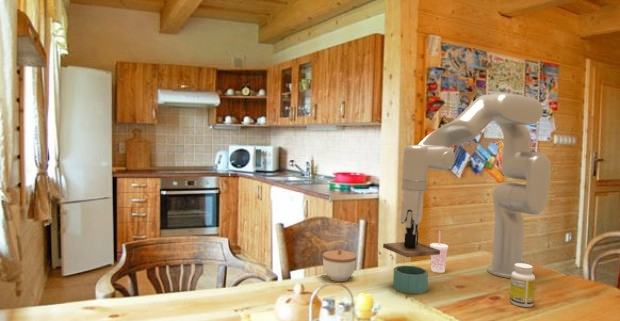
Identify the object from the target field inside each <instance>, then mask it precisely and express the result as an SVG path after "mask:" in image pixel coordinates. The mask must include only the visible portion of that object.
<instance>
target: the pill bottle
mask: <svg viewBox="0 0 620 321" xmlns="http://www.w3.org/2000/svg"><path fill="white" fill-rule="evenodd" d="M533 268H534V267H533V265H529V264H524V263H516V264H515V265H514V269H515V271H513V272H512V274H511V278H510V289H509V290H510V292H509V301H510V303H511V304H512V305H514V306H518V307H523V308H530V307H531V308H532V307H533V306H534V305H535V289H536V288H535V287H536V285H535V284H536V276H535V274H533V271H534V270H533Z"/></svg>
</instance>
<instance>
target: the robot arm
mask: <svg viewBox="0 0 620 321" xmlns="http://www.w3.org/2000/svg"><path fill="white" fill-rule="evenodd" d="M543 113H544V108H543V105H542V103H541V102H540V101H539V100H538V99H537V98H534V97H529V96H524V95H520V94H519V95H518V94H513V93H504V92H502V93H492V94H491V93H490V94H483V95H480V96H478V97H477V98H476V99H474V100H473V101H472V102H471V103H470V104H469V106H467V107H466V108H465V109H464V110H463V111H462V112H461V113H460V114H459V115H458V116H457V117H456V118H455V119H454V120H452V121H450V122H448V123H446V124H444V125H442V126H440V127H439V128H437V129H434V131H431V132H430V133H428V134H427V135H426V136H425V137H424V138H423V139H422V140H421V141H420V142H418V143H417V144H416V145H415V144H414V145H413V144H411V145H410V144H409V145H406V146H405V147H404V149H403V158H402V160H403V161H402V175H401V177H402V179H401V191H403V194H402V195H403V196H402V201H401V202H402V203H401V210H400V223H401V224H403V225H404V224H405V230H404V246H405V247H408V248H415V243H416V235H415V232H416V233H417V245H418V243H419V223H421V221H422V218H423V209H424V208H423V207H424V193H427V192H428V181H429V170H434V171H447V170H449V169H450V168H452V167H453V165H454V164H455V162H456V153H455V152H454V151H453V149H451V148H450V147H453V146H456V145H461V144H465V143H467V142H469V141H473V140H475V138H476V137H477V136H478V135H479V134H480V133H481V132H482V131H483V130H484V129H486V127H487V126H488V125H489V124H491V122H493V121H494V122H496V124H497V125H498V126H499V128H500V130H501V131H502V135H503V146H502V154H501V162H500V163H501V164H500V170H501V174H502V175H503V176H504V177H506V178H507V179H513V180H521V181H526V184H525V183H519V182H518V183H517V182H511V181H510V182H507V181H506V182H502V183H499V184H497V185H496V186H495V188H494V190H493V192H492V202H493V209H494V222H493V223H494V226H493V227H494V228H493V244H492V260H491V265H488V266H487V267H486V270H487V272H488V273H490V274H491V275H494V276H496V277H502V278H505V279H511V274H512V272H513V271H515V269H514V265H515V264H516V263H524V264H529V265H531V261H530V260H524V259H523V257H524V244H525V243H524V241H525V240H524V237H525V220H524V217H523V215H522V214H525V215H531V216H532V215H534V216H535V215H536V216H537V215H540V214H542V213H543V212H544V211H545V209H546V208H547V203H548V199H549V191H550V182H551V175H552V165H551V161H550V159H549V157H548V156H546V155H545V154H544V153H541V152H534V151H533V152H531V145H532V144H531V143H532V137H531V133H530V131H529V129H528V127H527V125H528V126H529V125H534V124H536V123H538V122H539V121H540V120H541V119H542V116H543ZM531 266H532V265H531Z"/></svg>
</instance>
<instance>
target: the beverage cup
mask: <svg viewBox="0 0 620 321" xmlns="http://www.w3.org/2000/svg"><path fill="white" fill-rule="evenodd" d="M429 245H430V246H429V247H432V248H434V249H437V250H440V254H439V255H430V270H431V271H432V272H434V273H439V274H440V273H445V272H446V264H447V255H448V254H447V253H448V249H449V245H447V244H445V243H441V230H439V231H438V242H433V243H430V244H429Z"/></svg>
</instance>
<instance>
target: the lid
mask: <svg viewBox="0 0 620 321" xmlns="http://www.w3.org/2000/svg"><path fill="white" fill-rule="evenodd" d="M415 235H416V243H415V248H408V247H405V246H404V242H405V241H404V242H403V241H401V242H400V241H399V242H390V243H388V242H387V243H383V245H382V248H384V249H386V250H389V251H390V252H393V253H395V254H398V255H400V256H403V257H405V258H415V257H416V258H417V257H426V256H427V257H428V256H431V255H439V254H440V250H437V249H434V248H432V247H430V246H429V245H426V244H423V243H421V242H418V245H417V233H416V232H415Z"/></svg>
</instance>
